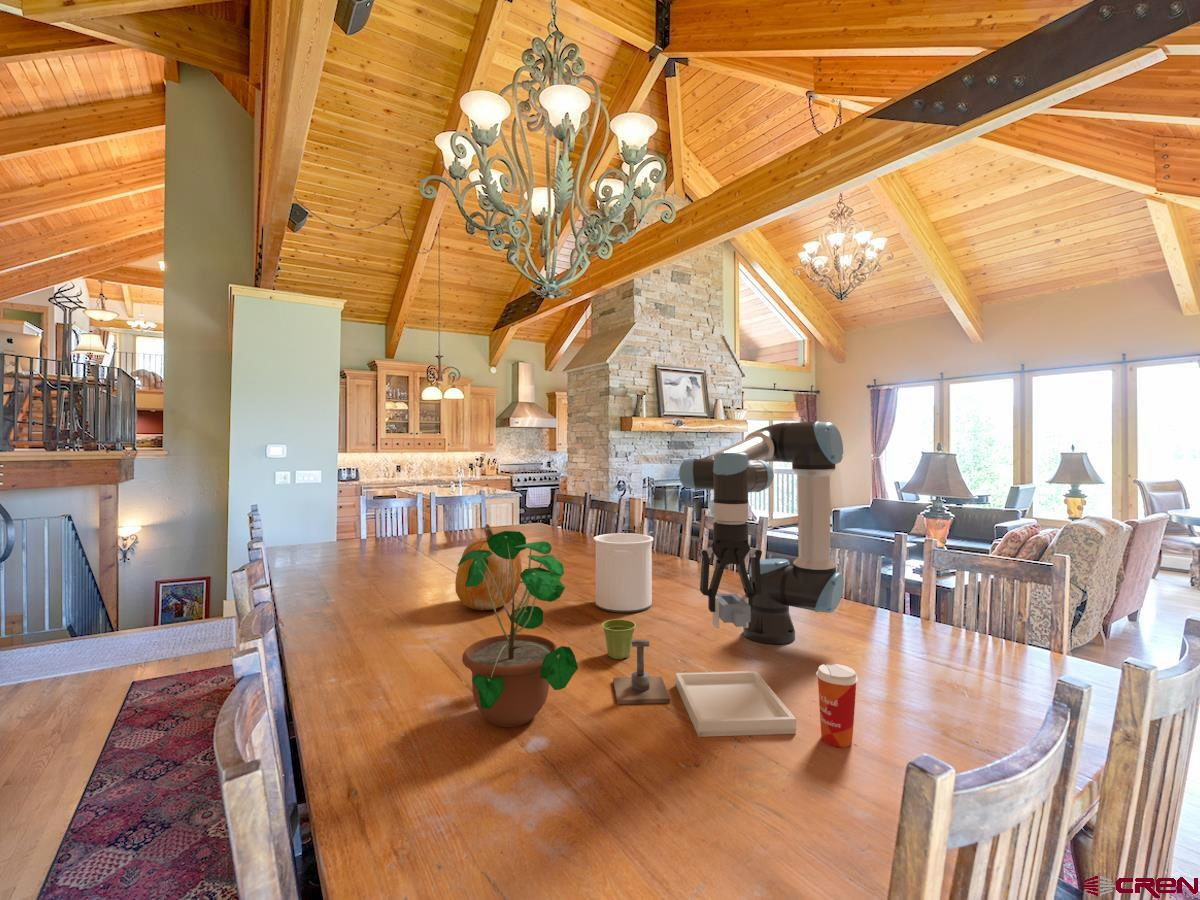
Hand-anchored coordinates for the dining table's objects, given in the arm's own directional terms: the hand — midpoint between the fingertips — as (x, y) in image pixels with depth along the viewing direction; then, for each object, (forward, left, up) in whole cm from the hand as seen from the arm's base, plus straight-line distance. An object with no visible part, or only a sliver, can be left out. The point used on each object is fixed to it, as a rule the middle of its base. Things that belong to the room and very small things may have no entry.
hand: (730, 625), depth 126 cm
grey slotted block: (0, +1, +2) cm, 3 cm away
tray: (0, 0, -18) cm, 18 cm away
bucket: (+16, -80, -19) cm, 84 cm away
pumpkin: (+64, -82, -19) cm, 106 cm away
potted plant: (+45, 0, -18) cm, 49 cm away
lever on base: (+19, -9, -18) cm, 28 cm away
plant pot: (+22, -32, -19) cm, 43 cm away
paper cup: (-17, +15, -18) cm, 29 cm away
